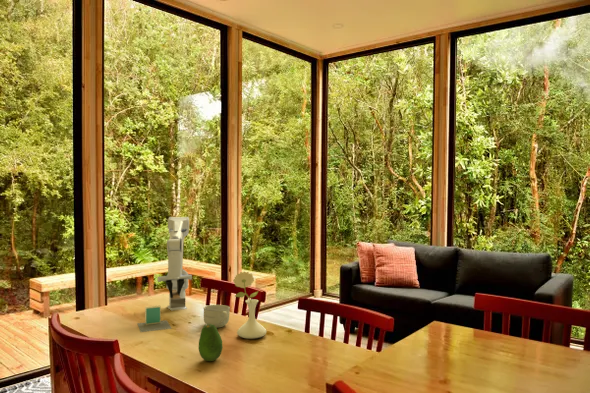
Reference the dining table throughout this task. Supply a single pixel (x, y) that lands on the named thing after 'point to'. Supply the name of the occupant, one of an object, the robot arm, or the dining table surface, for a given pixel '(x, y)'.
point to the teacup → (216, 315)
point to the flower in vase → (251, 326)
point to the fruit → (210, 343)
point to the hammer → (176, 300)
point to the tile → (152, 314)
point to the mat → (154, 326)
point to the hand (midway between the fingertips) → (174, 296)
